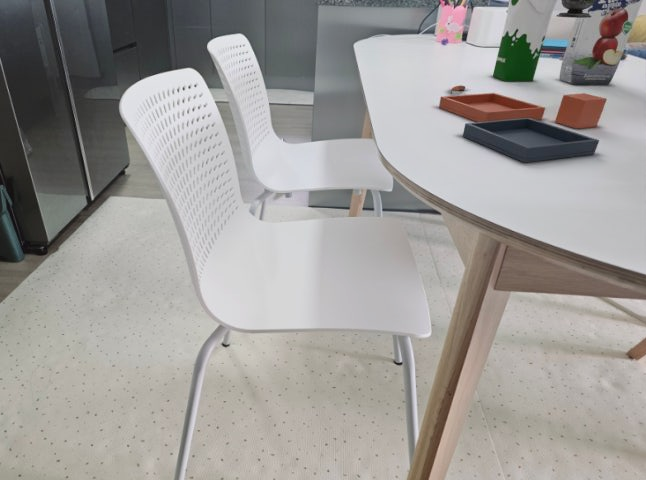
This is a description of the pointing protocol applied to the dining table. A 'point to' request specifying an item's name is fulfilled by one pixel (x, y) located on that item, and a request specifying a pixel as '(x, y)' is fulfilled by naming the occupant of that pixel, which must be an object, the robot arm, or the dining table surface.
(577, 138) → the slate tray
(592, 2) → the carved stone statue
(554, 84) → the dining table surface
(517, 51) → the soya milk
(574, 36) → the juice carton
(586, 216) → the dining table surface
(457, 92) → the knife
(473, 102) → the terracotta tray
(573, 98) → the terracotta block
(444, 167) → the dining table surface
